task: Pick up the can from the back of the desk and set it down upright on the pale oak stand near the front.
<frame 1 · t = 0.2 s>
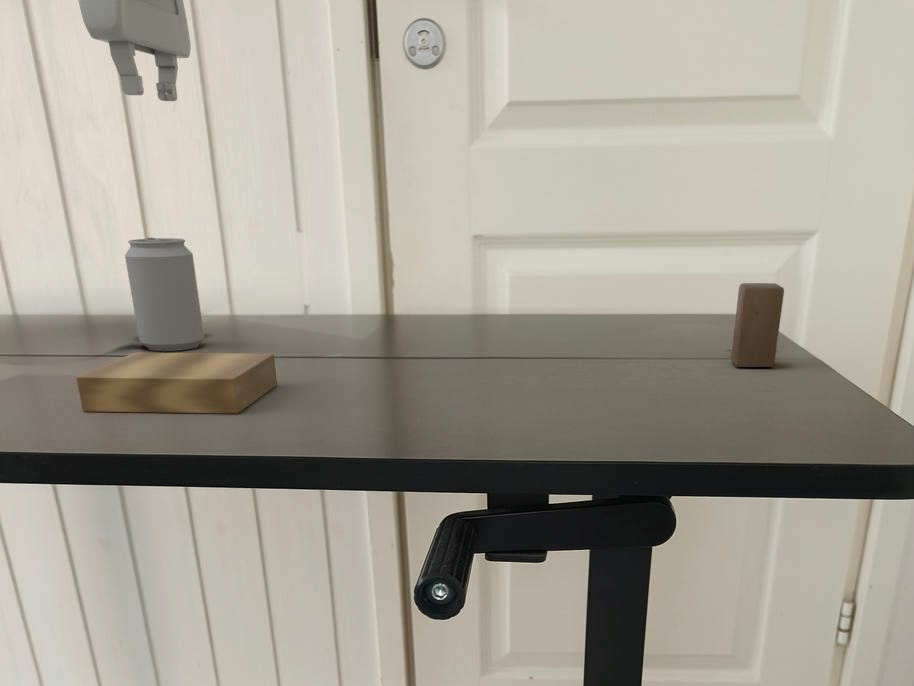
hand: (151, 98, 102), 26 cm above the table, tool pointing down, fingers open, 8 cm apart
stand: (185, 397, 85), on the table
can: (173, 348, 110), on the table
wooden block: (751, 367, 97), on the table
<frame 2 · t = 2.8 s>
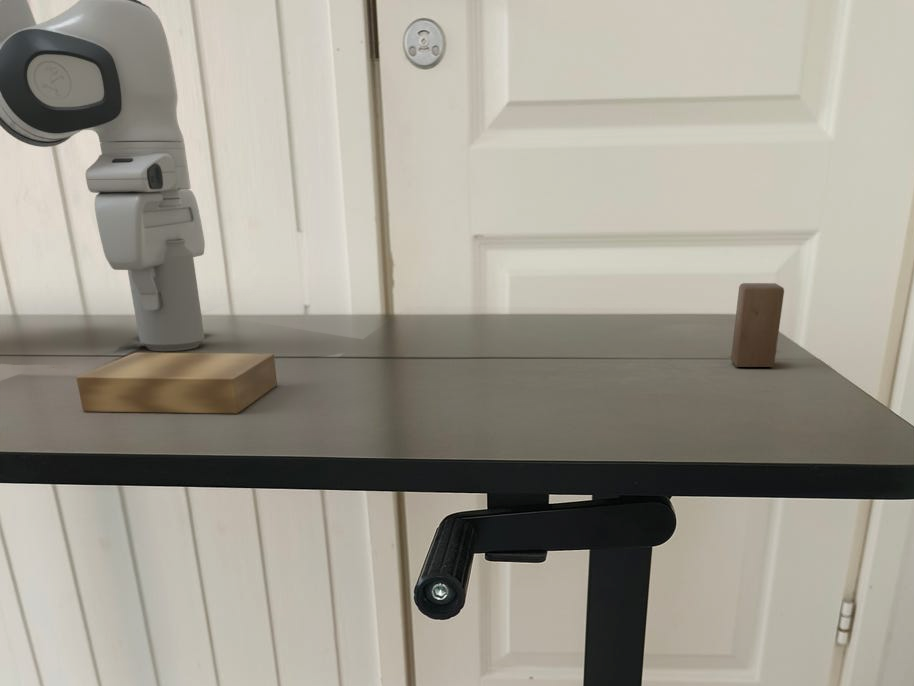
hand: (168, 304, 108), 5 cm above the table, tool pointing down, fingers closed on can, 7 cm apart
can: (173, 348, 110), on the table, touching gripper
everything else where it was.
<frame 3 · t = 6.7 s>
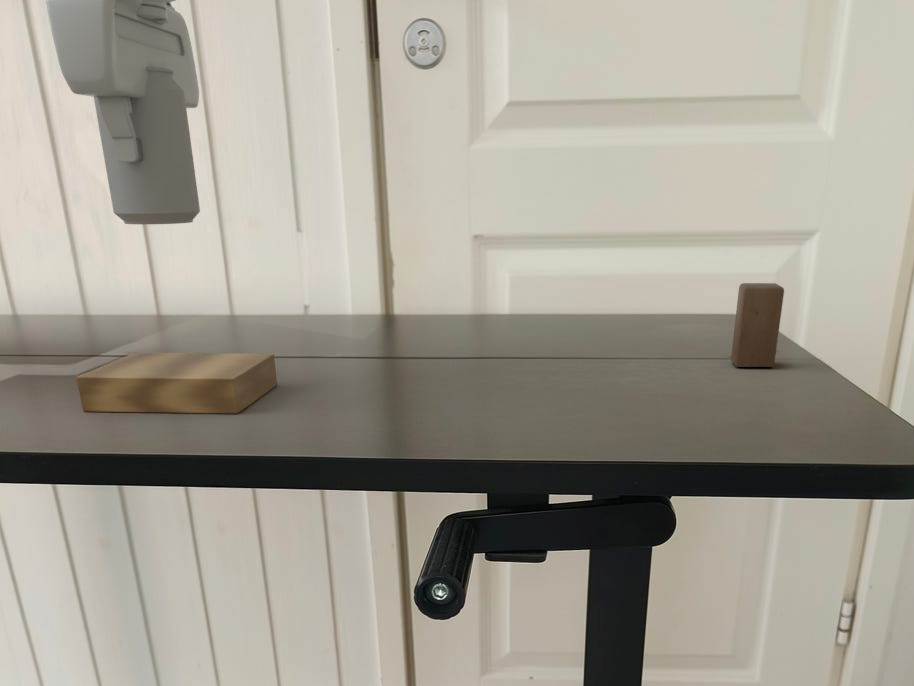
hand: (151, 162, 81), 19 cm above the table, tool pointing down, fingers closed on can, 7 cm apart
can: (159, 225, 83), point 14 cm above the table, touching gripper
everything else where it was.
when the fingers open (8 cm above the table, at t = 10.5 s): can stays where it is, resting on stand.
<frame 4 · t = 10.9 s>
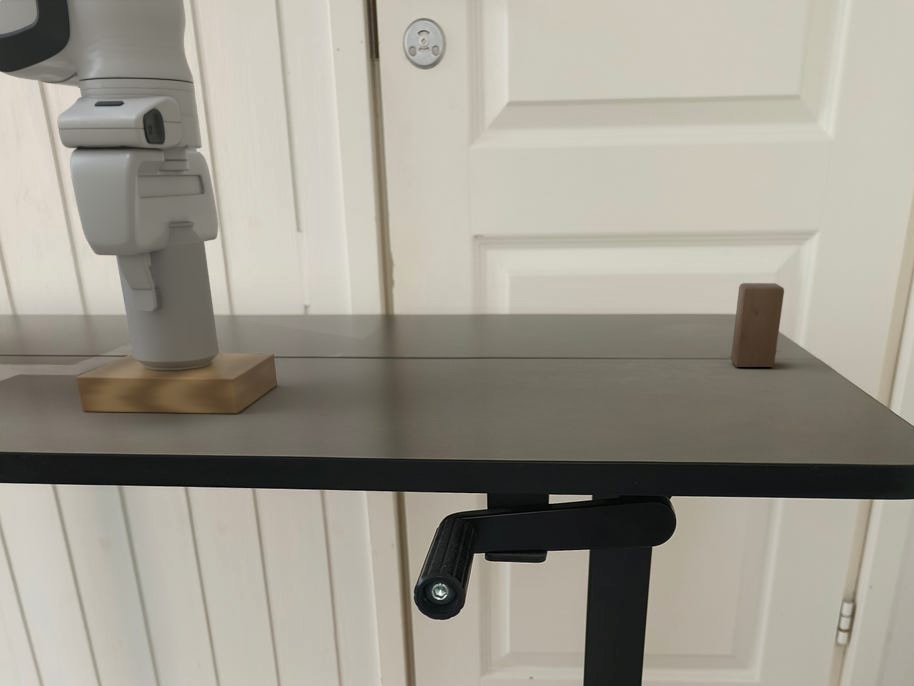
hand: (170, 303, 81), 8 cm above the table, tool pointing down, fingers open, 8 cm apart
can: (178, 366, 84), point 3 cm above the table, touching stand
everything else where it was.
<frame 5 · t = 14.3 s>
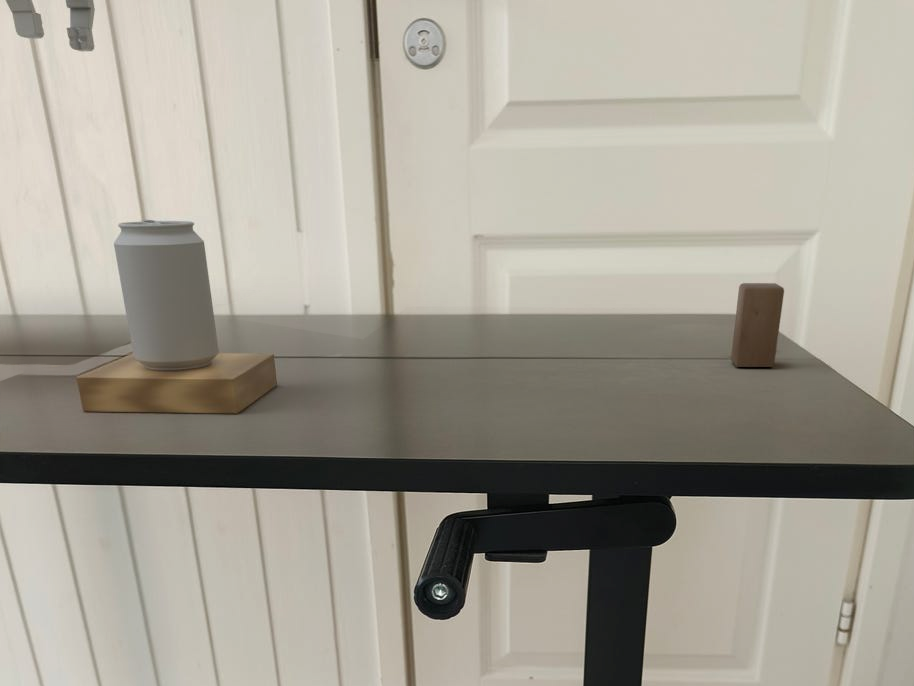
hand: (58, 44, 83), 29 cm above the table, tool pointing down, fingers open, 8 cm apart
nothing on the table moved.
at the end: can inside the target area on the stand (0.2 cm from its centre), point 2.8 cm above the stand's base; can tilted 0°; the gripper is holding nothing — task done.
